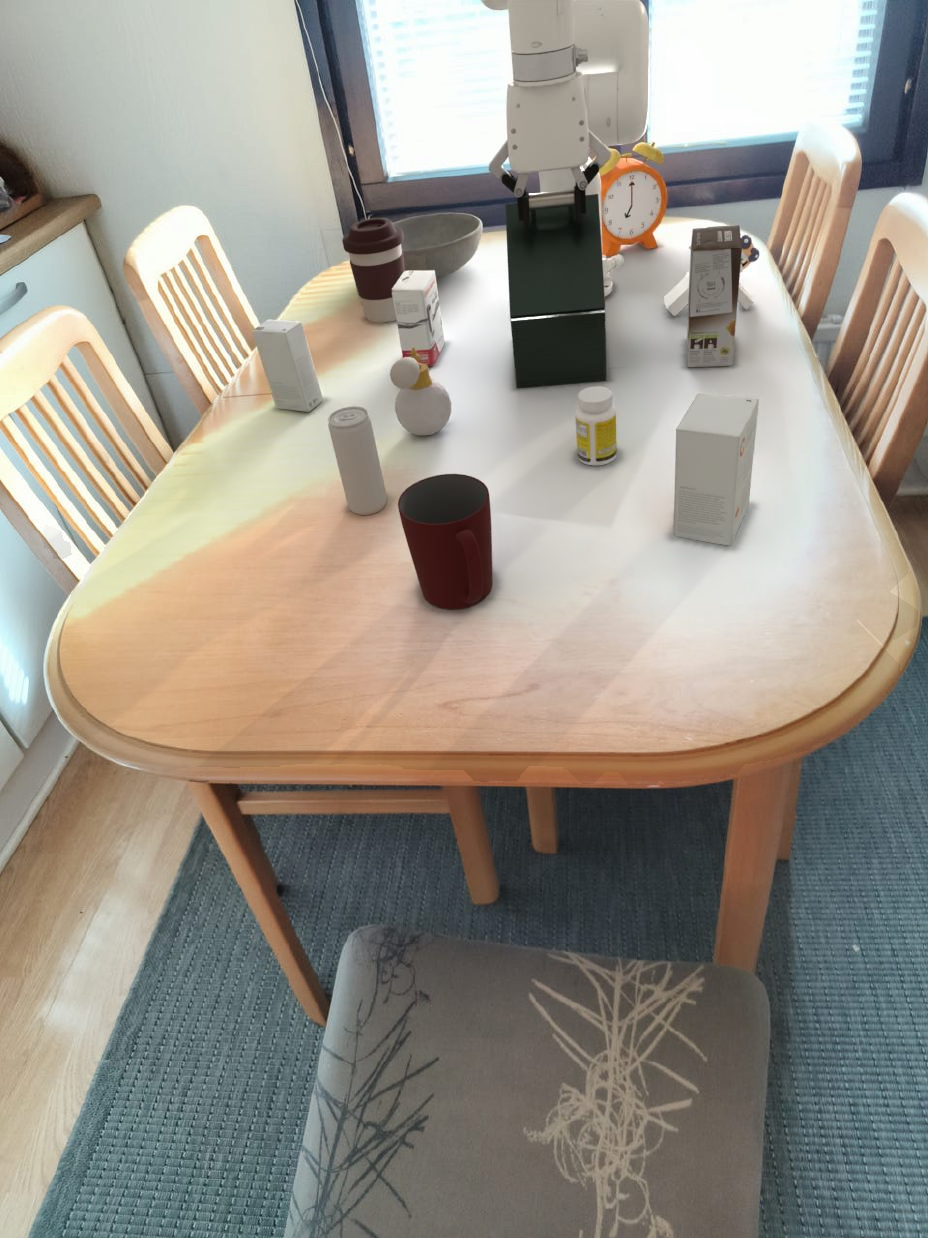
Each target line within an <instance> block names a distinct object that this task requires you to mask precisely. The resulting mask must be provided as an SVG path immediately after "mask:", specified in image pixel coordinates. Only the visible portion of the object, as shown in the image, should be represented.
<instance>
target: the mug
mask: <svg viewBox="0 0 928 1238" xmlns="http://www.w3.org/2000/svg"><path fill="white" fill-rule="evenodd" d="M397 507H398V513H399V518H400V521H401V526H402V529H403V533H404V536H405V540H406V543H407V547H408V550H409V553H410V558H411V561H412V564H413V567H414V570H415V573H416V576H417V579H418V583H419V586H420V590H421V593H422V595H423V598H424V599H425V601H426V602H427V603H428V604H430V605H432V606H433V607H435V608H439V609H444V610H461V609H467V608H470V607H472V606H475V605H477V604H479V603H480V602H482V601H483V600H484V599H486V598H487V597H488V596H489V594H490V593H491V592H492V589H493V582H494V581H493V537H492V534H493V533H492V532H493V531H492V509H491V499H490V492H489V488H488V486H487V485H486V484H485V483H484V482H483V481H482V480H481V479H478V478H476V477H474V476H472V475H468V474H467V475H466V474H462V473H443V474H437V475H432V476H428V477H425V478H423V479H420V480H418V481H416V482H414V483H413V484H411V485H410V486H408V487H407V488H405V490H404V491H403V492H402V493H401V495H400V496H399V498H398V502H397Z"/></svg>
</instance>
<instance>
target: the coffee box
mask: <svg viewBox="0 0 928 1238" xmlns="http://www.w3.org/2000/svg"><path fill="white" fill-rule="evenodd" d="M691 230H692V240H691V250H690V258H689V270H690V276H689V299H688V304H687V324H686V325H687V326H686V327H687V329H686V331H687V332H686V367H687V368H702V367H703V368H704V367H705V368H706V367H730V366H732V365H733V359H734V350H735V338H736V325H737V314H738V303H739V302H738V291H739V283H740V277H741V273H740V266H741V254H742V242H741V236H742V235H741V228H740V225H739V224H738V225H736V224H735V225H716V226H707V227H701V228H700V227H697V228H692V229H691Z"/></svg>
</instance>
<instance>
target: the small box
mask: <svg viewBox="0 0 928 1238" xmlns="http://www.w3.org/2000/svg"><path fill="white" fill-rule="evenodd" d="M759 405H760V399H759V398H756V397H750V396H742V395H731V394H723V393H712V392H711V393H710V392H700V391H699V392H698V393H697V394H696V396H694V399H693V400H692V402H691V403H690V405H689V406H688V409H686V412H685V414H684V415H683V417H682V418H681V420H680V422H679V423H678V425H677V427H676V428H675V459H674V460H675V461H674V462H675V464H674V465H675V466H674V494H673V495H674V496H673V497H674V498H673V499H674V501H673V529H672V530H673V531H672V535H673V536H674V537H675V538H676V537H677V538H683V539H688V540H695V541H700V542H705V543H706V542H707V543H709V544H710V543H711V544H716V545H724V546H728V547H729V546H732V545H733V542H734V539H735V537H736V535H737V533H738V531H739V529H740V527H741V525H742V522H743V521H744V518H745V515H746V513H747V511H748V509H749V506H750V497H751V488H752V487H751V486H752V476H753V475H752V474H753V473H752V472H753V464H754V456H755V455H754V453H755V447H756V445H755V444H756V436H757V425H758V415H759Z"/></svg>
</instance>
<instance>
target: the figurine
mask: <svg viewBox="0 0 928 1238" xmlns="http://www.w3.org/2000/svg"><path fill="white" fill-rule="evenodd" d="M692 230H693V229H690V230H689V231H688V232H687V233H686V234H685V236H684V237H683V239H684V241H685V243H686V246H687V248H688V249H689V251H691V240H692ZM741 242H742V254H741V266H740V274H741V273H743V270H745V269H746V268H748V267H749V266H750V265H751V263H755V262H756V261H757V260H758V259H759V257H760V251H759V249H758V248H757V247H755V246H754V244H753V241H752V237H751V236H750V235H748V234H742V235H741ZM689 276H690V269H688V271H686V272H685V276H684V277H683V278H681V280H680V281H679V282H678V283H677V284H675V285H674V286H673V288H671V289H670V290H669V291H668V293H666V294H665V295H664V296H663V302H664V305H665V309H666V310H667V311H668V312H669V313H670V314H671V315H672V316H673V317H676V316H677V315H678V314H679V313H680V312H681V311H682V310H683V309H684V308H685V307H687V306H688V299H689ZM738 303H739V304H740V305H741V306H742V307H743V308H744V309H745V310H748V308H750V307H751V306H752V305H753V304H754V301H753V299H752V297H751V295H750V293H749V291H748V290H747V289H746V288H745V287H744V286H743V284H742V283H741V282H739V291H738Z"/></svg>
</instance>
